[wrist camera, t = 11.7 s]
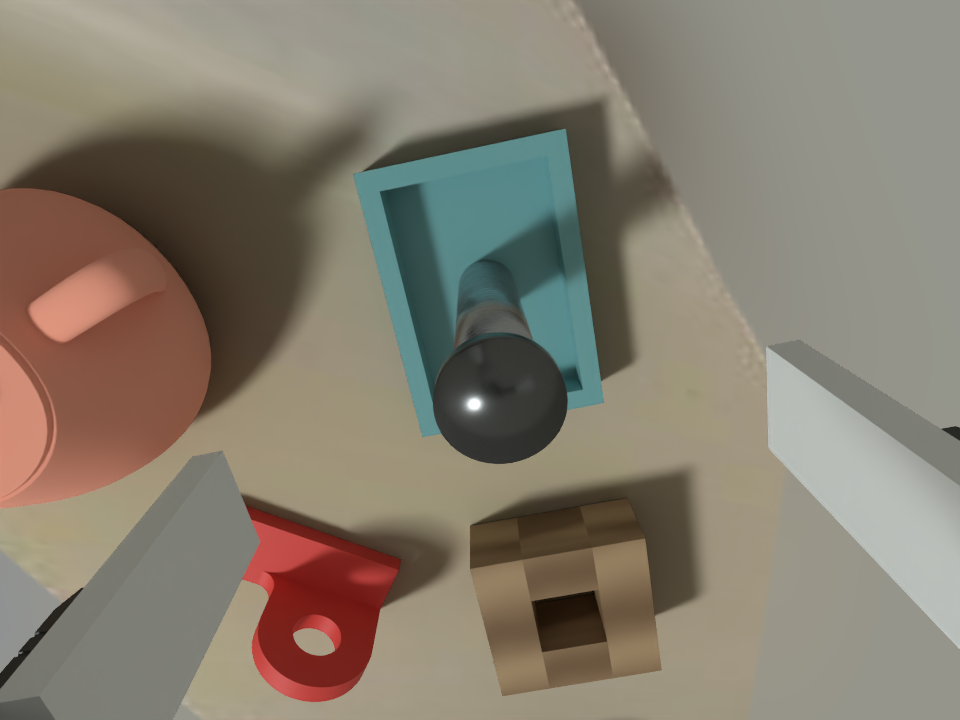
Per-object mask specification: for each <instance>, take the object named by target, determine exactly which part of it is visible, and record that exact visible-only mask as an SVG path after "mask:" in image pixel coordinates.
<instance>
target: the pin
mask: <svg viewBox="0 0 960 720" xmlns="http://www.w3.org/2000/svg"><path fill="white" fill-rule="evenodd" d="M567 405H568V397H567V390H566V386H565V382H564V380H563V377H562V375H561V372H560V370H559V367H558V365H557V364H556V362H555V360H554V359H553V357H552V356H551V355H550V354H549V353H548V352H547V351H546V350H545V349H544V348H543V347H542V346H541V345H539V344H538V343H536V342H535V341H533V338H532V335H531V332H530V328H529V325H528V322H527V319H526V316H525V313H524V310H523V306H522V303H521V300H520V297H519V294H518V291H517V288H516V284H515V281H514V278H513V276H512V274H511V272H510V271H509V270H508V268H507V267H506V266H504V265H503V264H501V263H499V262H497V261H494V260H480V261H477V262H475V263H473V264H471V265H470V266H468V267H467V268H466V269H465V271H464V272H463V274H462V275H461V278H460V281H459V288H458V301H457V314H456V327H455V340H454V350H453V351H452V352H451V353H450V354H449V356H448V357H447V358H446V359H445V361H444V362H443V364H442V366H441V367H440V370H439V372H438V374H437V378H436V382H435V388H434V396H433V411H434V417H435V420H436V423H437V426H438V428H439V430H440V432H441V433H442V435H443V436H444V438H445V439H446V440H447V441H448V442H449V444H450V445H451V446H453V447H454V448H455V449H456V450H457V451H459V452H460V453H462V454H463V455H465V456H467V457H469V458H472V459H475V460H477V461H481V462H485V463H493V464H505V463H513V462H517V461H521V460H524V459H526V458H529V457H531V456H533V455H535V454H537V453H538V452H540V451H541V450H543V449H544V448H545V447H546V446H547V445H548V444H550V442H551V441H552V440H553V439H554V438H555V437H556V435H557V434H558V432H559V431H560V429H561V427H562V425H563V423H564V420H565V417H566V412H567Z"/></svg>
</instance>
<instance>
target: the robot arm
mask: <svg viewBox="0 0 960 720" xmlns="http://www.w3.org/2000/svg"><path fill="white" fill-rule="evenodd" d="M766 357H767V401H768V446H769V449H770V450H771V451H772V452H773V453H774V455H775V456H776V457H777V458H778V459H779V460H780V461H781V462H782V463H783V464H784V465H785V466H786V467H787V468H788V469H789V470H790V471H791V472H792V473H793V474H794V475H795V477H796V478H797V479H798V480H799V481H801V483H802V484H803V485H804V486H805V487H806V488H807V489H808V490H809V491H810V492H811V493H812V494H813V495H814V497H815V498H816V499H817V500H818V501H819V502H820V503H821V504H822V505H823V506H824V507H825V508H826V509H827V510H828V511H829V512H830V513H831V514H832V515H833V517H834V518H835V519H836V520H837V521H838V522H839V523H840V524H841V525H842V526H843V527H844V528H845V529H846V530H847V531H848V532H849V533H850V534H851V535H852V536H853V538H854V539H855V540H856V541H857V542H858V543H859V544H860V545H861V546H862V547H863V548H864V549H865V550H866V551H867V552H868V553H869V554H870V555H871V556H872V557H873V559H874V560H875V561H876V562H877V563H878V564H879V565H880V566H881V567H882V568H883V569H884V570H885V571H886V572H887V573H888V574H889V575H890V576H891V577H892V578H893V580H894V581H895V582H896V583H897V584H898V585H899V586H900V587H901V588H902V589H903V590H904V591H905V592H906V593H907V594H908V595H909V596H910V597H911V598H912V600H913V601H914V602H915V603H916V604H917V605H918V606H919V607H920V608H921V609H922V610H923V611H924V612H925V613H926V614H927V615H928V616H929V617H930V618H931V620H932V621H933V622H935V624H936V625H937V626H938V627H939V628H940V629H941V630H942V631H943V632H944V633H945V634H946V635H947V636H948V637H949V638H950V639H951V641H952V642H953V643H954V644H955V645H956V646H957V647H958V648H959V649H960V428H959V427H956V426H955V427H949V428H944V429H940V428H939V427H937V426H935V425H934V424H932V423H931V422H929V421H927V420H926V419H924V418H922V417H921V416H920V415H918V414H916V413H915V412H913V411H912V410H910V409H908V408H907V407H905V406H903V405H902V404H900V403H899V402H897V401H896V400H894V399H893V398H891V397H889V396H888V395H886V394H884V393H883V392H881V391H880V390H878V389H877V388H875V387H874V386H872V385H870V384H869V383H867V382H865V381H864V380H862V379H861V378H859V377H857V376H856V375H854V374H853V373H851V372H850V371H848V370H847V369H845V368H843V367H842V366H840V365H838V364H837V363H835V362H834V361H832V360H831V359H829V358H828V357H826V356H824V355H823V354H821V353H820V352H818V351H816V350H815V349H813V348H812V347H810V346H809V345H807V344H805V343H804V342H802V341H801V340H797V341H791V342H786V343H781V344H775V345H770V346H766ZM259 544H260V540H259V537H258V535H257V532H256V530H255V528H254V525H253V523H252V520H251V518H250V516H249V513H248V511H247V508H246V506H245V504H244V501H243V499H242V496H241V494H240V491H239V489H238V487H237V484H236V482H235V479H234V477H233V475H232V472H231V470H230V467H229V465H228V463H227V460H226V458H225V455H224V453H223V451H219V452H214V453H209V454H204V455H199V456H193V457H192V458H191V459H190V460H189V461H188V463H187V464H186V465H185V466H184V467H183V469H182V470H181V471H180V472H179V474H178V475H177V476H176V477H175V478H174V480H173V481H172V482H171V483H170V484H169V486H168V487H167V488H166V489H165V490H164V492H163V493H162V494H161V495H160V497H159V498H158V499H157V500H156V501H155V503H154V504H153V505H152V506H151V507H150V509H149V510H148V511H147V512H146V513H145V515H144V516H143V517H142V518H141V520H140V521H139V522H138V523H137V524H136V526H135V527H134V528H133V529H132V530H131V532H130V533H129V534H128V535H127V536H126V538H125V539H124V540H123V541H122V542H121V544H120V545H119V546H118V547H117V549H116V550H115V551H114V552H113V553H112V555H111V556H110V557H109V558H108V559H107V561H106V562H105V563H104V564H103V565H102V567H101V568H100V569H99V570H98V572H97V573H96V574H95V575H94V576H93V578H92V579H91V580H90V581H89V582H88V584H87V585H86V586H85V587H84V588H81V589H80V590H78V591H77V592H76V593H75V594H73V595H72V596H71V597H70V598H68V599H67V600H66V601H65V602H63V603H62V604H61V605H60V606H59V607H57V608H56V609H55V610H54V611H53V612H52V613H51V614H50V616H49V617H48V618H47V619H46V620H45V621H44V623H43V624H42V625H41V626H40V627H39V629H38V630H37V631H36V632H35V637H32V638H30V639H29V640H28V642H27V643H26V644H25V645H24V646H23V647H22V649H21V650H20V651H19V652H18V657H14V658H13V659H12V660H11V662H10V663H9V664H8V665H7V666H6V667H5V668H4V670H3V671H2V672H1V673H0V720H173V718H174V716H175V714H176V712H177V710H178V708H179V706H180V704H181V702H182V700H183V698H184V696H185V694H186V692H187V690H188V688H189V686H190V684H191V682H192V680H193V678H194V676H195V674H196V671H197V669H198V667H199V665H200V663H201V661H202V659H203V657H204V655H205V653H206V651H207V649H208V647H209V645H210V643H211V641H212V639H213V637H214V635H215V633H216V631H217V629H218V627H219V625H220V623H221V621H222V619H223V617H224V615H225V613H226V611H227V609H228V607H229V604H230V602H231V600H232V598H233V596H234V594H235V592H236V590H237V588H238V586H239V584H240V582H241V580H242V578H243V576H244V574H245V572H246V570H247V568H248V566H249V564H250V562H251V560H252V558H253V556H254V554H255V552H256V550H257V548H258V546H259Z"/></svg>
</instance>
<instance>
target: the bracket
mask: <svg viewBox="0 0 960 720" xmlns="http://www.w3.org/2000/svg"><path fill="white" fill-rule="evenodd" d="M246 508H247V511H248V513H249V516H250V518H251V520H252V523H253V525H254V528H255V530H256V532H257V535H258V537H259V540H260V544H259V546H258V548H257V550H256V552H255V554H254V556H253V558H252V560H251V562H250V564H249V566H248V568H247V570H246V572H245V574H244V576H243V578H242V579H243V580H246V581H249V582H252V583H256V584H258V585H260V586H262V587H263V588H264V589H265V590H266V591H267V593H268V596H269V600H268V602H267V604H266V607H265V609H264V611H263V614H262V616H261V618H260V621H259V623H258V626H257V628H256V631H255V633H254V636H253V641H252V654H253V659H254V662H255V665H256V667H257V669H258V671H259V672H260V674H261V675H262V677H263V678H264V679H265V680H266V681H267V682H268V683H269V684H270V685H271V686H272V687H273V688H274V689H276V690H277V691H279V692H280V693H282V694H284V695H286V696H289V697H291V698H294V699H297V700H302V701H309V702H321V701H327V700H332V699H335V698H337V697H340V696H342V695H344V694H345V693H347V692H348V691H349V690H351V689H352V688H353V687H354V686H355V685H356V684H357V682H358V681H359V680H360V678H361V676H362V674H363V672H364V670H365V668H366V666H367V664H368V662H369V660H370V657H371V654H372V649H373V644H374V639H375V634H376V628H377V623H378V618H379V612H380V609H381V606H382V604H383V602H384V600H385V598H386V596H387V594H388V592H389V590H390V588H391V586H392V584H393V582H394V580H395V578H396V576H397V573H398V571H399V568H400V562H401V559H398V558H395V557H392V556H389V555H386V554H383V553H380V552H378V551H375V550H372V549H369V548H366V547H363V546H360V545H357V544H354V543H352V542H349V541H346V540H343V539H340V538H337V537H334V536H331V535H328V534H325V533H323V532H320V531H317V530H314V529H311V528H308V527H305V526H302V525H299V524H297V523H294V522H291V521H288V520H285V519H282V518H279V517H276V516H273V515H271V514H268V513H265V512H262V511H259V510H256V509H253V508H250V507H247V506H246ZM304 628H313V629H317V630H320V631H322V632H324V633H325V634H327V635H328V636H329V637H330V639H331V640H332V642H333V644H334V647H335V651H334V652H333V653H331V654H328V655H324V656H316V655H311V654H309V653H306V652H305V651H303V650H302V649H301V648H300V647H299V646H298V645H297V644H296V642H295V640H294V637H293V633H294V632H296V631H298V630H300V629H304Z"/></svg>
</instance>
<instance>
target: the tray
mask: <svg viewBox="0 0 960 720" xmlns="http://www.w3.org/2000/svg"><path fill="white" fill-rule="evenodd" d="M353 175H354V179H355V183H356V187H357V191H358V194H359V198H360V202H361V206H362V210H363V213H364V217H365V221H366V225H367V228H368V232H369V236H370V240H371V244H372V247H373V251H374V255H375V259H376V263H377V266H378V270H379V274H380V278H381V281H382V285H383V289H384V293H385V297H386V300H387V304H388V308H389V312H390V316H391V319H392V323H393V327H394V331H395V335H396V338H397V342H398V346H399V350H400V353H401V357H402V361H403V365H404V369H405V372H406V376H407V380H408V384H409V388H410V391H411V395H412V399H413V403H414V406H415V410H416V414H417V418H418V422H419V425H420V429H421V433H422V437H425V436H431V435H436V434H441V432H440V430H439V428H438V426H437V423H436V420H435V417H434V411H433V396H434V388H435V382H436V378H437V374H438V372H439V370H440V367H441V366H442V364H443V362H444V361H445V359H446V358H447V357H448V356H449V354H450V353H451V352H452V351H453V350H454V340H455V327H456V314H457V301H458V288H459V281H460V278H461V275H462V274H463V272H464V271H465V269H466V268H467V267H468V266H470V265H471V264H473V263H475V262H477V261H480V260H494V261H497V262H499V263H501V264H503V265H504V266H506V267H507V268H508V270H509V271H510V272H511V274H512V276H513V278H514V281H515V284H516V288H517V291H518V294H519V297H520V300H521V303H522V306H523V310H524V313H525V316H526V319H527V322H528V325H529V328H530V332H531V335H532V338H533V341H535V342H536V343H538V344H539V345H541V346H542V347H543V348H544V349H545V350H546V351H547V352H548V353H549V354H550V355H551V356H552V357H553V359H554V360H555V362H556V364H557V365H558V367H559V370H560V372H561V375H562V377H563V380H564V382H565V386H566V390H567V397H568V405H567V410H569V409H574V408H580V407H585V406H590V405H596V404H601V403H604V400H603V392H602V385H601V378H600V371H599V364H598V357H597V349H596V342H595V335H594V328H593V321H592V314H591V306H590V299H589V292H588V285H587V278H586V271H585V263H584V256H583V249H582V242H581V235H580V228H579V220H578V213H577V206H576V199H575V192H574V185H573V178H572V170H571V163H570V156H569V149H568V142H567V135H566V129H559V130H554V131H549V132H545V133H540V134H535V135H531V136H526V137H521V138H517V139H512V140H507V141H503V142H498V143H493V144H488V145H484V146H479V147H474V148H470V149H465V150H460V151H456V152H451V153H446V154H442V155H437V156H432V157H428V158H423V159H418V160H414V161H409V162H404V163H400V164H395V165H390V166H386V167H381V168H376V169H372V170H367V171H362V172H359V173H355V174H353Z"/></svg>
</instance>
